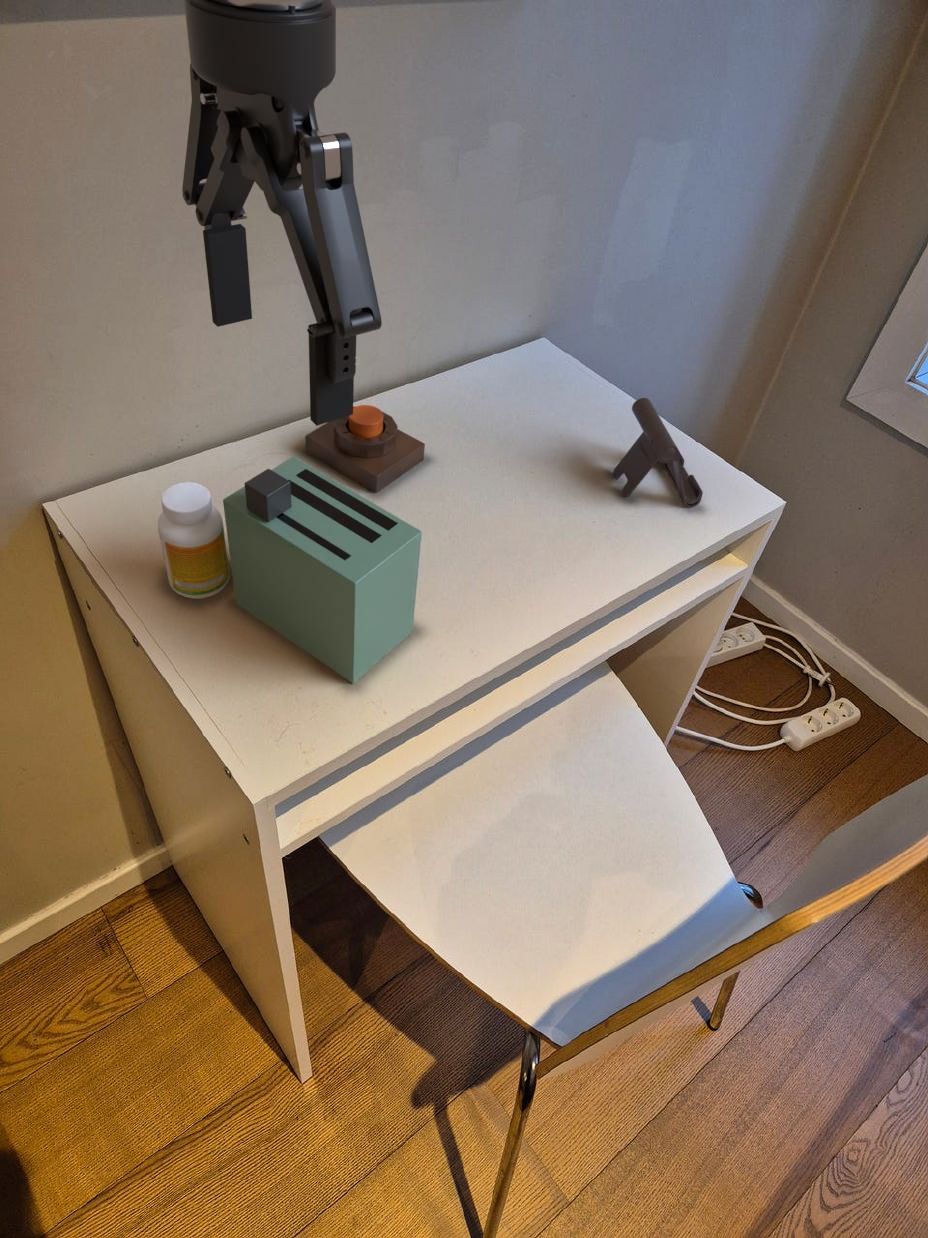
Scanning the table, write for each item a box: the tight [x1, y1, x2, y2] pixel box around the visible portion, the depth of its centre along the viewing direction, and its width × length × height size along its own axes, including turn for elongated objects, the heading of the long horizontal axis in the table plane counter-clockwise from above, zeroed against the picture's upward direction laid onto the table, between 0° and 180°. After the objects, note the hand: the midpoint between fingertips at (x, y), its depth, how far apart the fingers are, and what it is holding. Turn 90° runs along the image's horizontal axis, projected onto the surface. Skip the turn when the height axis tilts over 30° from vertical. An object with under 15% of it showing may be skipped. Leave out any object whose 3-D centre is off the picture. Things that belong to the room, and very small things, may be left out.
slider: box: [244, 468, 292, 522], centre depth 67 cm, size 2×3×3 cm
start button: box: [349, 404, 383, 438], centre depth 90 cm, size 4×4×2 cm
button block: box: [304, 405, 426, 494], centre depth 92 cm, size 10×8×4 cm
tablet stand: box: [612, 397, 704, 509], centre depth 93 cm, size 9×8×8 cm
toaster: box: [222, 456, 423, 685], centre depth 73 cm, size 14×8×12 cm, turn 53°
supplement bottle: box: [157, 481, 231, 600], centre depth 75 cm, size 5×5×10 cm
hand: (279, 366), depth 59 cm, fingers open, 13 cm apart
